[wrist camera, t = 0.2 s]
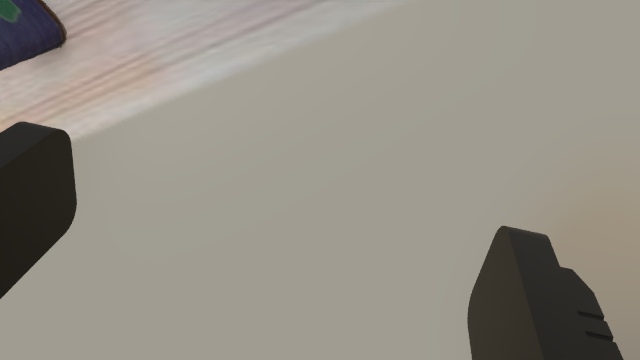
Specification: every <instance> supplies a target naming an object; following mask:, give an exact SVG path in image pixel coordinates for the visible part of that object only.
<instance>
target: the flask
mask: <svg viewBox="0 0 640 360" xmlns="http://www.w3.org/2000/svg"><path fill="white" fill-rule="evenodd" d="M65 40H66V31H65V29H64V26H63V24H62V23H61V22H60V20H59V19H58V17H57V16H56V15H55V14H54V13H53V12H52V11H51V10H50V9H49V8H48V7H47V5H46V4H45V3H44V2H43V1H41V0H0V71H1V70H3V69H6V68H7V67H11V66H13V65H16V64H17V63H19V62H22V61H25V60H28V59H31V58H34V57H35V56H37V55H40V54H43V53H45V52H48V51H50V50H53V49H55V48H58V47H60V48H61V45H62V44H63V43H64V41H65Z"/></svg>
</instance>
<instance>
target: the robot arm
mask: <svg viewBox="0 0 640 360" xmlns="http://www.w3.org/2000/svg"><path fill="white" fill-rule="evenodd" d="M76 205H77V199H76V190H75V179H74V169H73V158H72V148H71V141H70V137H69V135H68V134H67V133H66V132H65V131H64V130H61V129H56V128H51V127H47V126H42V125H37V124H33V123H28V122H18V123H16V124H14V125H13V126H11V127H9V128H8V129H6V130H4V131H3V132H1V133H0V299H1V298H2V297H3V296H4V295H5V294H6V293H7V292H8V291H9V290H10V289H11V288H12V287H13V285H15V284H16V282H18V280H19V279H20V278H21V277H22V276H23V275H24V274H25V273H26V272H27V271H28V270H29V269H30V268H31V267H32V266H33V265H34V264H35V263H36V262H37V261H38V260H39V259H40V258H41V257H42V256H43V255H44V254H45V253H46V252H47V251H48V250H49V249H50V248H51V247H52V246H53V245H54V244H55V243H56V242H57V241H58V240H59V239H60V238H61V237H62V236H63V235H64V234H65V233H66V232H67V230H68V229H69V227H70V225H71V224H72V221H73V219H74V216H75V212H76ZM468 331H469V339H470V346H471V354H472V360H623V358H622V355H621V353H620V351H619V349H618V346H617V344H616V343H615V342H613V335H612V333H611V331H610V329H609V326H608V324H607V322H606V321H604V315H603V313H602V311H601V308H600V306H599V304H598V302H597V299H596V297H595V295H594V293H593V292H592V290H591V289H590V288H589V287H588V286H587V285H586V284H585V283H584V282H583V281H582V280H581V279H580V277H579V276H578V275H577V274H576V273H575V272H574V271H573V270H572V269H568V268H563V267H560V266H559V263H558V261H557V258H556V255H555V253H554V250H553V248H552V245H551V242H550V240H549V238H548V237H547V235H544V234H540V233H535V232H530V231H526V230H521V229H517V228H512V227H507V226H501V227H500V228H499V229H498V231H497V233H496V234H495V237H494V239H493V241H492V244H491V246H490V249H489V251H488V254H487V256H486V258H485V261H484V264H483V266H482V268H481V271H480V273H479V276H478V278H477V280H476V283H475V285H474V288H473V290H472V294H471V297H470V302H469V307H468Z"/></svg>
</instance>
